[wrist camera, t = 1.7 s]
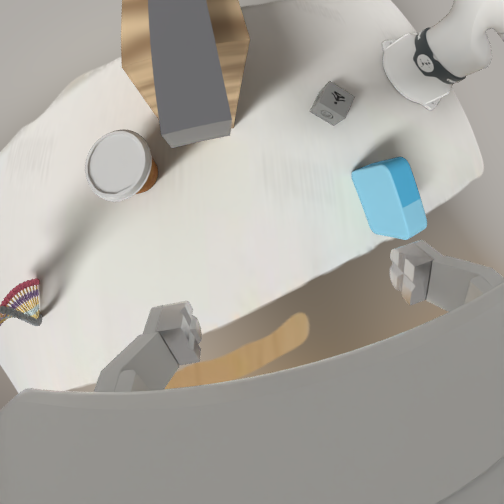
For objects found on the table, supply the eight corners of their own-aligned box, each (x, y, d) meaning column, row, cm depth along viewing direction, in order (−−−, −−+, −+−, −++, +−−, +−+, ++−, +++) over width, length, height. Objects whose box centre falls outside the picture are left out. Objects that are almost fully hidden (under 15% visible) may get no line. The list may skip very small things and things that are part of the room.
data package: (389, 224, 47) (429, 229, 36) (371, 233, 47) (410, 241, 35) (367, 164, 45) (406, 154, 33) (348, 172, 45) (385, 163, 33)
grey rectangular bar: (229, 135, 17) (232, 119, 14) (172, 148, 17) (161, 135, 14) (194, -34, 14) (193, -57, 10) (153, -26, 13) (147, -47, 10)
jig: (233, 127, 42) (256, 8, 12) (173, 140, 41) (104, 41, 11) (214, 39, 38) (217, -86, 9) (160, 50, 37) (119, -67, 8)
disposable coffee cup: (110, 200, 41) (77, 198, 29) (119, 145, 40) (90, 127, 28) (162, 205, 42) (142, 204, 31) (172, 148, 41) (155, 128, 29)
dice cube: (343, 105, 43) (354, 96, 38) (333, 125, 43) (345, 118, 38) (319, 91, 42) (329, 80, 37) (309, 111, 43) (318, 102, 38)
